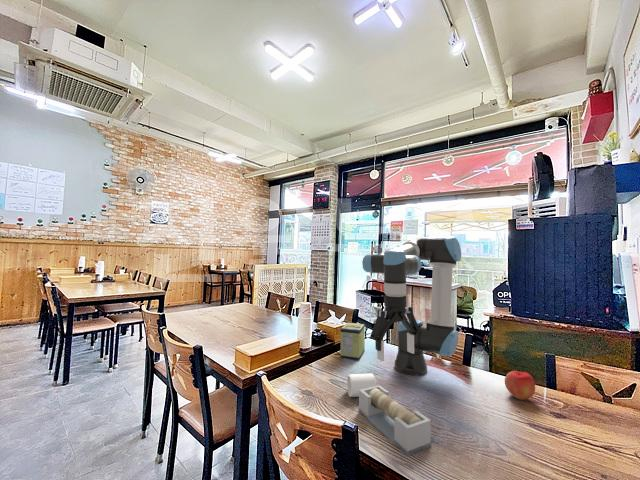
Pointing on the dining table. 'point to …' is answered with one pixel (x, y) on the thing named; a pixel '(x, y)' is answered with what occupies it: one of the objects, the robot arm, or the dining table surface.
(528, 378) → the apple
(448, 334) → the robot arm
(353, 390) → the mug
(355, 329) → the protein box
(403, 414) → the beige beaded rod
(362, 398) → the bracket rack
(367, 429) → the dining table surface
